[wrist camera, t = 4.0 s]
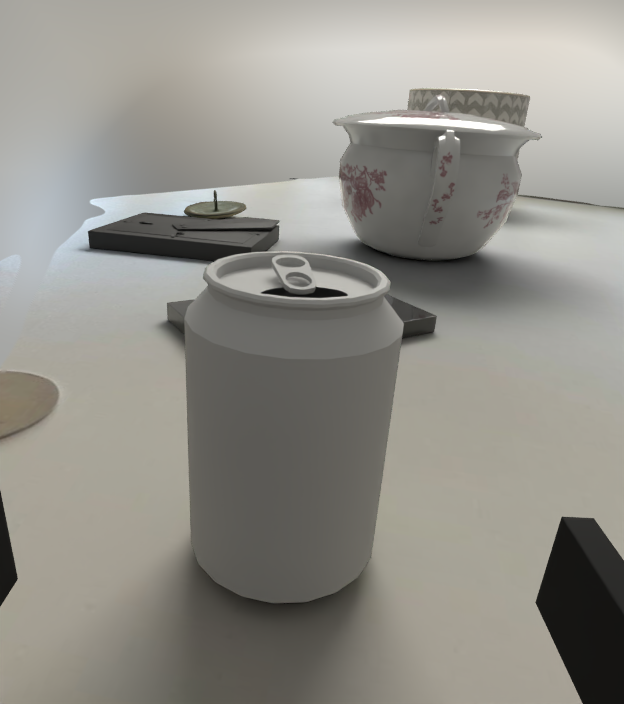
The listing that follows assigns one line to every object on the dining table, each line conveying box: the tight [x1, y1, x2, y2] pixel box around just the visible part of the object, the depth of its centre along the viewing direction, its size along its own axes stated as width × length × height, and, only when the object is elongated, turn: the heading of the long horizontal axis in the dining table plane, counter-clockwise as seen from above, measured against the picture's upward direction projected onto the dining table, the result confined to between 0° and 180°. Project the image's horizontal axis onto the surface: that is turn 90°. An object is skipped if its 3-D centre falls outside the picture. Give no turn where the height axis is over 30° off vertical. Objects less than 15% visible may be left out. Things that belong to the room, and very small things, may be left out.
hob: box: [167, 294, 437, 338], centre depth 47 cm, size 12×20×2 cm, turn 123°
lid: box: [184, 190, 246, 219], centre depth 92 cm, size 11×10×5 cm
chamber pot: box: [333, 94, 542, 261], centre depth 75 cm, size 28×28×21 cm
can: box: [184, 251, 404, 603], centre depth 20 cm, size 8×8×12 cm
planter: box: [407, 88, 530, 159], centre depth 121 cm, size 25×25×24 cm
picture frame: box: [88, 213, 279, 261], centre depth 73 cm, size 16×3×21 cm
